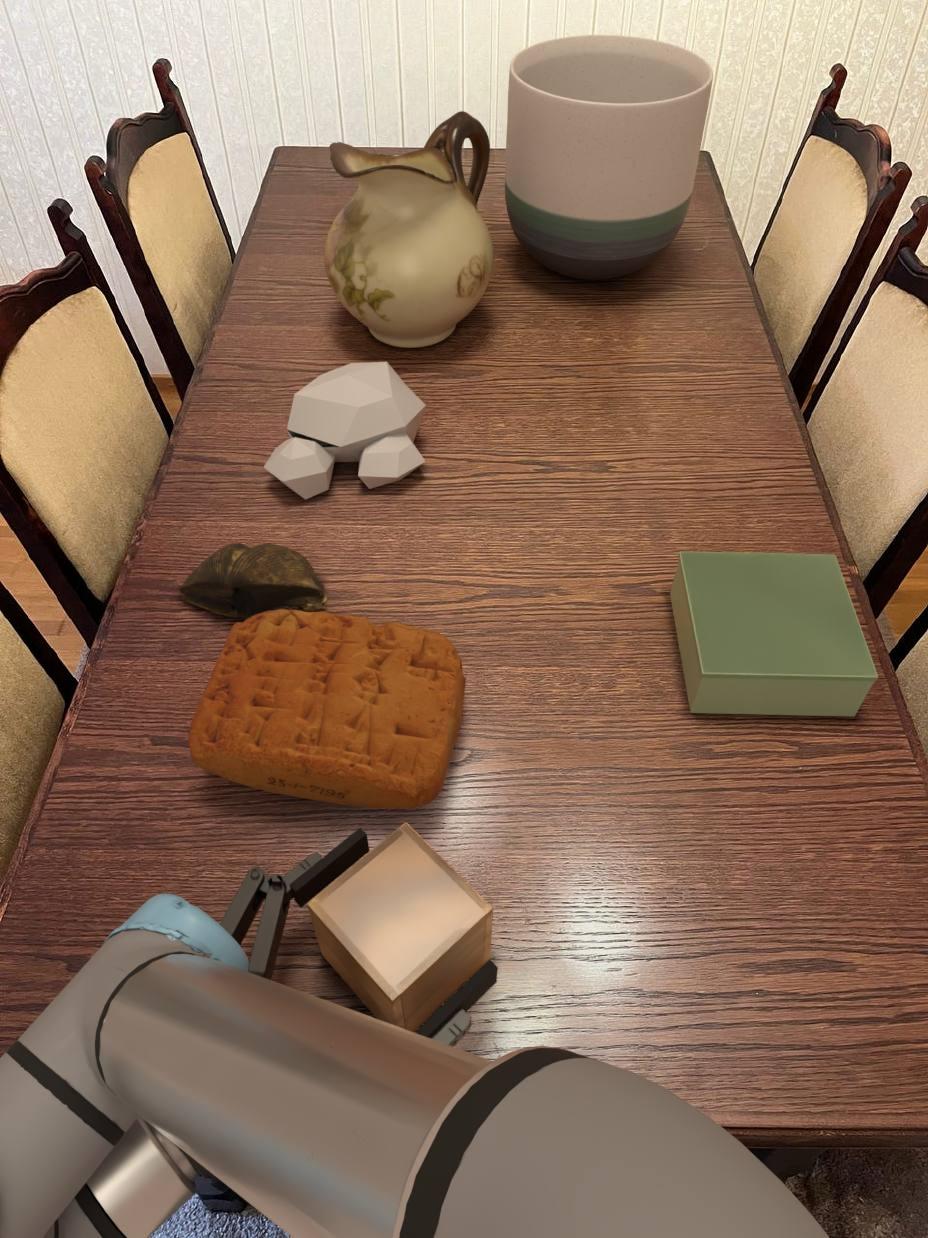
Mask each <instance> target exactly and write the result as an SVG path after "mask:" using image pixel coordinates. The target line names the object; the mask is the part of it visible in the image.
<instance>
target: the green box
mask: <svg viewBox="0 0 928 1238" xmlns="http://www.w3.org/2000/svg"><path fill="white" fill-rule="evenodd" d="M677 556H678V560H677V564H676V568H675V572H674V576H673V579H672V584H671V587H670V592H669V597H670V602H671V608H672V615H673V620H674V626H675V633H676V639H677V644H678V649H679V655H680V660H681V667H682V672H683V679H684V685H685V690H686V695H687V701H688V708H689V712H690V714H717V715H718V714H720V715H721V714H722V715H765V716H767V715H769V716H807V717H808V716H810V717H812V716H813V717H815V716H817V717H856V715H857V713H858V711H859V709H860V708H861V707H862V704H863V702H864V700H865V699H866V697H867V695H868V693H869V692H870V690H871V688H872V687H873V685H874V683H875V682H877V681H878V679H879V675H878V672H877V668H876V666H875V663H874V660H873V657H872V655H871V652H870V649H869V646H868V643H867V641H866V638H865V634H864V632H863V629H862V627H861V624H860V620H859V618H858V616H857V612H856V609H855V606H854V604H853V602H852V598H851V595H850V593H849V589H848V587H847V584H846V581H845V578H844V576H843V573H842V570H841V567H840V564H839V561H838V558H837V555H836V554H835V553H789V552H788V553H787V552H786V553H785V552H784V553H783V552H782V553H779V552H730V551H729V552H726V551H724V552H723V551H678V555H677Z"/></svg>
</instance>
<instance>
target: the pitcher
mask: <svg viewBox="0 0 928 1238" xmlns="http://www.w3.org/2000/svg"><path fill="white" fill-rule="evenodd" d="M466 139H469V141H470V144H471V148H472V150H471V151H472V161H471V168H470V173H469V177H468V182H467V181H466V179H465V173H464V168H463V162H462V159H463V158H462V151H463V145H464V143H465V140H466ZM490 142H491V141H490V138H489V135H488V132H487V129H486V128H485V127H484V125H483V124H482V123H481V121H480V120H478V119H477V118H475V117H474V116H473V115H471V114H470V113H468V112H466V111H464V110H460V111H457V112H456V113H454V114H453V115H451V116H449V118H446V119H445V120H444V121H442V122H441V123H439V125H438V126H437V127H435V129H434V130H433V131H432V133H431V134H430V136H429V137H428V139H427V141H426V142H425V145H424V146H423V148H420V149H416V150H414V151H409V152H405V153H395V154H383V153H378V154H377V153H370V152H368V151H366V150H364V149H363V150H362V149H359V148H356V147H355V146H353V145H351V144H348V143H344V142H343V141H338V142H332V143H331V144H329V160H330V162H331V165H332V167H333V169H334V171H335V173H337V174H338V175H339V176H340V177H342V178H344V179H348V180H355V179H357V181H358V187H357V189H356V191H355V192H354V194H353V195H352V196H351V197H350V199H349V200H348V201H347V202H346V203H345V205H344V206H343V207H342V208H341V209H340V211H339V212H338V213H337V215H336V217H335V218H334V220H333V221H332V224H331V225H330V228H329V230H328V233H327V235H326V238H325V243H324V249H323V250H324V251H323V262H324V269H325V273H326V276H327V280H328V282H329V284H330V287H331V289H332V291H333V292H334V294H335V296H336V298H337V299H338V300H339V302H340V303H341V304H342V306H343V307H344V308H345V309H346V310H347V312H349V313H350V314H351V315H352V316H353V317H354V318H355V319H356V320H357V321H358V322H360V323H361V324H363V325H364V326H365V327H367V328H368V330H369V332H370V334H371V335H372V337H374V338H375V339H376V340H378V341H379V342H380V343H383V344H385V345H388V346H392V347H396V348H403V349H416V348H425V347H428V346H429V347H430V346H433V345H435V344H439V343H440V342H443V341H444V340H445V339H448V337H450V336H451V335H452V333H453V332H454V331H455V329H456V326H457V324H458V323H459V322H461V321H462V320H463V319H464V318H466V317H467V316H468V315H470V313H471V312H472V311H473V310H474V309H475V308H476V306H477V305H478V304H479V302H480V301H481V299H482V298H483V296H484V295H485V293H486V290H487V288H488V286H489V283H490V280H491V277H492V273H493V268H494V267H493V266H494V259H495V258H494V256H495V255H494V246H493V241H492V236H491V233H490V230H489V227H488V226H487V224H486V222H485V220H484V218H483V217H482V215H481V214H480V212H478V207H477V205H478V202H479V199H480V196H481V193H482V190H483V187H484V184H485V181H486V179H487V178H486V177H487V175H488V170H489V165H490V157H491V144H490Z"/></svg>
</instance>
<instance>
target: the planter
mask: <svg viewBox="0 0 928 1238" xmlns="http://www.w3.org/2000/svg"><path fill="white" fill-rule="evenodd" d="M713 80H714V71H713V68H712V66H711V64H709V62H708V61H707V60H705V59H704V58H703V57H702V56H700V55H699V54H697V53H695V52H693V51H691V50H688V49H686V48H684V47H681V46H679V45H675V44H673V43H669V42H665V41H661V40H656V39H651V38H645V37H639V36H630V35H620V34H619V35H616V34H615V35H614V34H585V35H583V34H582V35H572V36H564V37H557V38H551V39H548V40H544V41H541V42H538V43H535V44H532V45H529V46H527V47H525V48H523V49H521V50H520V51H519V52H517V53H516V54H515V55H514V56H513V57H512V59H511V61H510V64H509V71H508V88H507V117H506V119H507V120H506V122H507V123H506V139H505V140H506V141H505V164H504V165H505V169H504V200H505V205H506V206H505V207H506V212H507V216H508V220H509V224H510V227H511V229H512V231H513V234H514V236H515V237H516V240H517V241H518V243H519V244H520V245H521V247H522V248H523V249H524V250H525V251H526V252H527V253H528V254H529V255H530V256H531V257H532V258H533V259H534V260H535V261H537V262H538V263H540V264H541V265H542V266H543V267H545V268H547V269H550V270H551V271H552V272H555V273H557V274H560V275H563V276H566V277H569V278H573V279H578V280H587V281H603V280H612V279H617V278H620V277H624V276H627V275H630V274H632V273H635V272H637V271H639V270H641V269H643V268H644V267H646V266H648V265H650V264H651V263H652V262H655V260H657V259H658V258H660V256H661V255H663V254H664V253H665V252H666V251H667V249H669V247H670V246H671V245H672V244H673V242H674V241H675V239H676V237H677V236H678V234H679V232H680V230H681V228H682V226H683V224H684V222H685V219H686V216H687V214H688V211H689V208H690V204H691V200H692V196H693V190H694V184H695V181H696V175H697V169H698V165H699V159H700V153H701V148H702V142H703V137H704V136H703V135H704V130H705V125H706V120H707V115H708V110H709V105H710V99H711V93H712V86H713Z"/></svg>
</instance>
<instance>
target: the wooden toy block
mask: <svg viewBox="0 0 928 1238" xmlns="http://www.w3.org/2000/svg"><path fill="white" fill-rule="evenodd" d="M306 907H307V909H308V913H309V916H310V919H311V923H312V926H313V929H314V933H315V936H316V940H317V943H318V946H319V950H320V952H321V953H320V954H321V956H322V957H323V958H324V959H325V960H326V961H327V962H328V963H329V965H330V966H331V967H332V968H333V970H334V971H335V972H336V973H337V974H338V975H339V977H340V978H341V979H342V980H343V981H344V982H345V984H346V985H347V986H348V987H349V989H350V990H351V991H352V992H353V993H354V994H355V995H356V997H357V998H358V999H359V1001H361V1002H362V1004H363V1005H364V1006H365V1007H366V1008H367V1010H368V1011H369V1012H370V1014H372V1016H373V1017H374V1018H376V1019H378V1020H381V1021H384V1022H387V1023H389V1024H392V1025H395V1026H398V1027H400V1028H403V1029H406V1030H409V1031H411V1032H414V1033H416V1031H418V1029H419V1028H420V1027H421V1026H422V1025H423V1024H424V1023H425V1022H426V1021H427V1020H428V1019H429V1018H430V1017H431V1016H432V1015H433V1014H434V1013H435V1012H436V1011H437V1010H438V1009H439V1008H440V1007H441V1006H442V1005H443V1004H444V1003H445V1002H446V1001H448V1000H449V999H450V998H451V997H452V996H453V995H454V994H455V993H456V992H457V991H458V990H459V989H460V988H461V987H462V986H463V985H464V984H465V983H466V982H467V981H468V980H469V979H470V978H471V977H472V976H473V975H474V974H475V973H476V972H477V971H478V970H479V969H480V968H481V967H482V966H483V965H484V964H485V963H486V962H487V961H488V960H489V959H490V960H491V949H492V934H493V933H492V931H493V915H494V908H493V906H492V905H491V904H490V903H488V901H487V900H486V899H485V898H484V897H482V895H481V894H479V892H477V890H475V888H474V887H473V886H471V885H470V884H469V882H468V881H466V879H464V878H463V877H462V876H461V874H459V872H457V871H456V870H455V869H454V868H453V867H452V866H451V865H450V864H449V863H448V862H447V861H446V860H445V859H444V858H443V857H442V856H441V854H439V852H437V851H436V850H435V849H434V848H433V847H432V846H431V845H430V844H429V843H428V842H427V841H426V840H425V839H424V838H423V837H422V836H421V835H420V834H419V833H418V832H417V831H416V830H415V829H414V828H413V827H412V826H411V825H410V824H409V823H408V822H404V823H403V824H401V825H400V826H399V827H398V828H397V829H395V830H394V831H393V832H392V833H391V834H389V835H388V836H387V837H386V838H385V839H384V840H382V841H381V842H380V843H378V844H377V845H376V846H375V847H374V848H372V849H371V850H370V851H369V852H368V853H367V854H366V855H364V856H363V857H362V858H361V859H360V860H358V861H357V862H356V863H355V864H354V865H352V866H351V867H350V868H349V869H348V870H346V871H345V872H344V873H343V874H341V875H340V876H339V877H338V878H337V879H335V880H334V881H333V882H332V883H331V884H329V885H328V886H327V887H326V888H325V889H323V890H322V891H321V892H320V893H319V894H317V895H316V896H315V897H314V898H312V899H311V900H310V901H309V902H308V903H306Z"/></svg>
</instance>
